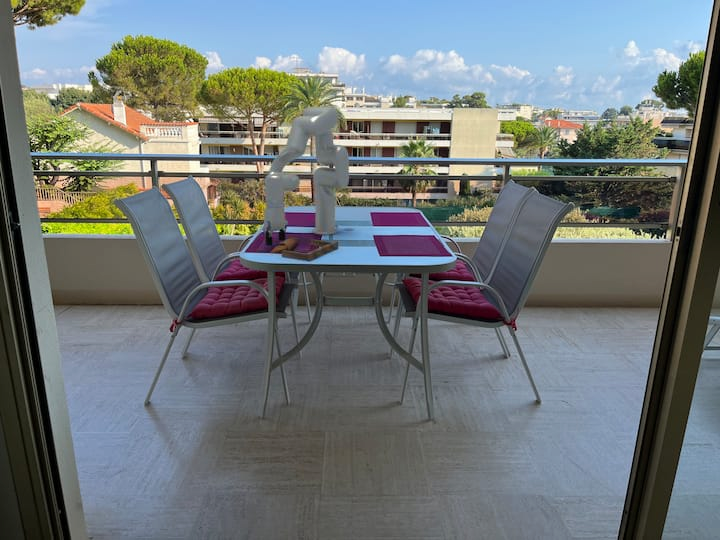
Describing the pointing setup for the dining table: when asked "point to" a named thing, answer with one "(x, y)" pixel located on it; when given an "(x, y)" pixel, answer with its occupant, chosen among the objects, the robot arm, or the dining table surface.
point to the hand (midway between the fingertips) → (275, 243)
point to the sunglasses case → (285, 245)
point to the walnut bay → (324, 249)
